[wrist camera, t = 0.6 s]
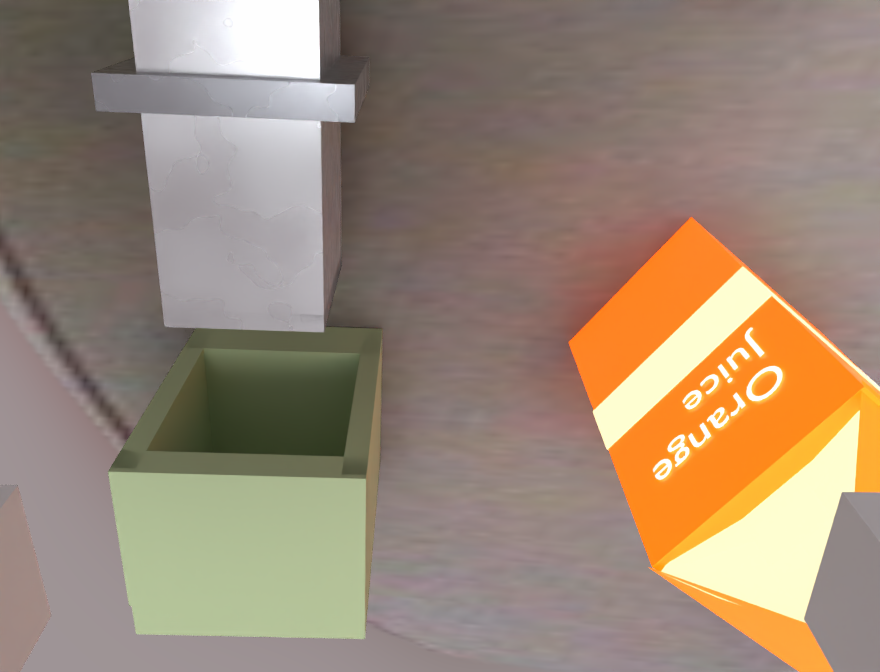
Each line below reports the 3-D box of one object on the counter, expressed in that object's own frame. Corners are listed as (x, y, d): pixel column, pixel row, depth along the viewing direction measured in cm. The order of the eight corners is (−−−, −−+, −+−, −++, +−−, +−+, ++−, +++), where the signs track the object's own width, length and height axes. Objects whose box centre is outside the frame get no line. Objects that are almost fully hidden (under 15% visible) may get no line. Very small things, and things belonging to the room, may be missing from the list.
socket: (199, 322, 35) (108, 471, 25) (382, 328, 35) (366, 479, 25) (211, 456, 38) (133, 638, 28) (380, 461, 38) (364, 643, 28)
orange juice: (692, 213, 33) (1010, 519, 15) (827, 333, 36) (1237, 718, 18) (563, 344, 36) (706, 740, 18) (698, 448, 38) (942, 887, 20)
